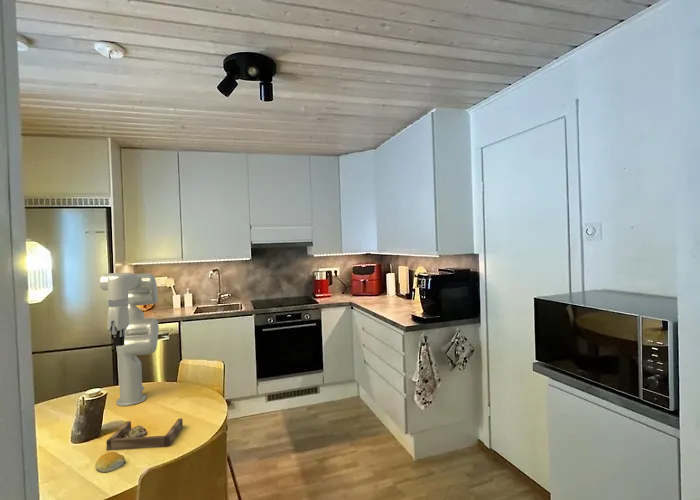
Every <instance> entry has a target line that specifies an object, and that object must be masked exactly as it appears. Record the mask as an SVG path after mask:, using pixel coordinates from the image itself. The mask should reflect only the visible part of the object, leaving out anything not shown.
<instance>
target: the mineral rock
mask: <svg viewBox="0 0 700 500" xmlns="http://www.w3.org/2000/svg"><path fill="white" fill-rule="evenodd" d="M146 435H147V429H146V428H145V427H144V426H143V425H136V426H134V427H132V428H131V430H130V431H129V432H128V433H126V435H124V438H133V437H146Z"/></svg>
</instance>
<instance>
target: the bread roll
mask: <svg viewBox="0 0 700 500" xmlns="http://www.w3.org/2000/svg"><path fill="white" fill-rule="evenodd" d="M125 460H126V458H125V456H124V455H123V454H120V453H118V452H116V451H109V452H105V453H103V454H102V455H101V456H99V457H98V458H97V460H96V462H95V465H94V466H95V470H96V471H98V472H100V473H108V472H112V471H115V470H117V469H119V468H121V467H122V466H123V465H124V463H125Z"/></svg>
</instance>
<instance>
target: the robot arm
mask: <svg viewBox="0 0 700 500" xmlns="http://www.w3.org/2000/svg"><path fill="white" fill-rule="evenodd" d="M98 284H99V286H100V289H101V290H102V291H105V292H106V291H107V294H108V295H107V300H108V301H107V303H108V306H107V307H108V310H107V319H106V320H107V321H106V325H107V326H106V328H107V331H108V332H111V335H113V337H114V346H115V348H116V353H117V358H118V374H119V375H118V376H119V377H118V378H119V379H118V380H119V398H117V400H115V401H116V403H115V404H116V405H117V406H120V407H129V406H134V405H138V404H140V403H142V402H145V400H146V399H147V395H146V394H144V393H143V390H144V389H145V386H144V385H143V373H142V372H143V371H142V366H143V365H142V362H141V360H140V358H138V356H141V355H142V356H143V355H150V354H154V353H155V352H156V350H157V348H158V347H157V346H158V339H159V331H160V330H159V329H160V327H159V322H158V319H156V318H154V317H153V318H152V317H148V318H146V317H145V313H144V312H143V310H141V309H140V308H139V307H138V306H145V305H146V306H148V305H154V304H156V303H158V302H159V291H158V285H157V280H156V277H155V275H154V274H153V273H150V272H149V273H132V272H113V273H112V272H111V273H109V272H108V273H103V274H101V276H100V277H99V281H98Z"/></svg>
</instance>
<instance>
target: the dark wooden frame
mask: <svg viewBox="0 0 700 500" xmlns="http://www.w3.org/2000/svg"><path fill="white" fill-rule="evenodd" d="M183 419H184V418H181V417H180V418H177V420H176V421H175V422H174V424H173V425H172V426H171V428H170V429H169V430H168V431H167V433H166V434H165V435H157V436H156V435H153V436H143V437H133V438H125V437H124V435H126V433H129V431H130V430H131V429H132V421H131V420H130V421H128V420H127V421H126V422H125V423H124V424H123V425H121V426H120V427H119V428H118V429H117V430H116V431H115V433H113V434H112V435H111V436H110V437H109V438H108V439H107V440H106V443H105V444H106V451H119V450H120V451H121V450H139V449H152V448H153V449H154V448H168V447H170V445H171V444H172V442H173V441H174V440H175V438H176V437H177V435H178V434H179V433H180V431H181V430H182V429H183V427H184V425H183V423H184V422H183Z"/></svg>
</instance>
